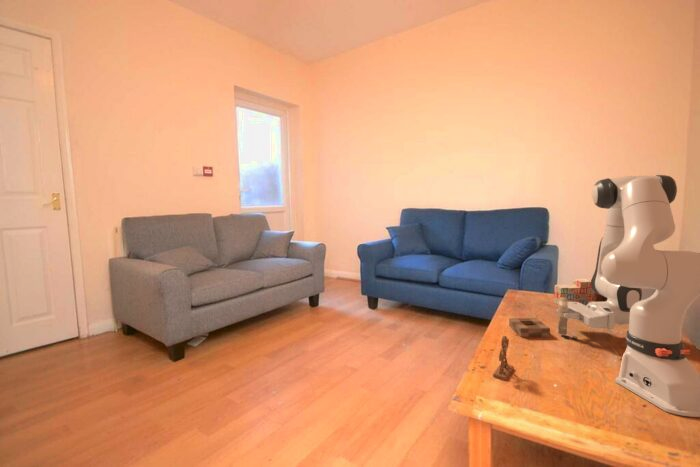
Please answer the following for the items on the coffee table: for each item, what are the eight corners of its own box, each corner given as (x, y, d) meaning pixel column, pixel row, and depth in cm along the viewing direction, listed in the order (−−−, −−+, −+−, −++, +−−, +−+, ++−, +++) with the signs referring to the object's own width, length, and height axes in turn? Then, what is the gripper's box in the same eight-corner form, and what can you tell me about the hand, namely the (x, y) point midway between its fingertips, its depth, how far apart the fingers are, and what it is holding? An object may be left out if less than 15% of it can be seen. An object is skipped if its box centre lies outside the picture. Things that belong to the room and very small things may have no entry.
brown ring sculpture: (505, 380, 100) (506, 342, 99) (492, 376, 103) (493, 339, 101) (513, 368, 107) (514, 333, 106) (501, 365, 109) (501, 330, 108)
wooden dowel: (568, 334, 129) (569, 299, 127) (560, 334, 129) (561, 299, 128) (564, 331, 132) (565, 297, 130) (556, 331, 132) (557, 297, 130)
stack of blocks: (560, 306, 164) (561, 281, 163) (553, 302, 171) (554, 278, 169) (606, 306, 162) (607, 281, 161) (598, 302, 169) (599, 278, 167)
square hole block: (549, 336, 130) (550, 328, 129) (520, 337, 130) (520, 328, 130) (535, 326, 140) (536, 318, 140) (509, 326, 141) (509, 318, 141)
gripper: (581, 297, 139) (546, 297, 140) (617, 313, 118) (576, 314, 119) (580, 312, 139) (546, 312, 140) (616, 331, 119) (576, 331, 120)
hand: (560, 313), depth 130 cm, fingers closed on wooden dowel, 3 cm apart
